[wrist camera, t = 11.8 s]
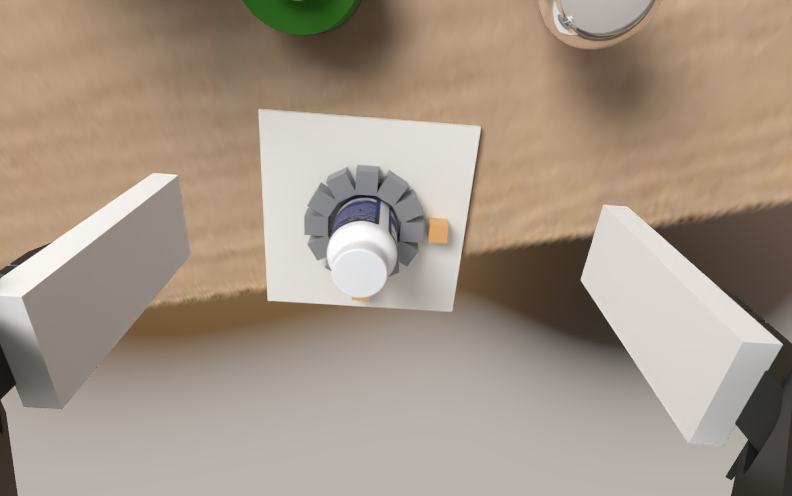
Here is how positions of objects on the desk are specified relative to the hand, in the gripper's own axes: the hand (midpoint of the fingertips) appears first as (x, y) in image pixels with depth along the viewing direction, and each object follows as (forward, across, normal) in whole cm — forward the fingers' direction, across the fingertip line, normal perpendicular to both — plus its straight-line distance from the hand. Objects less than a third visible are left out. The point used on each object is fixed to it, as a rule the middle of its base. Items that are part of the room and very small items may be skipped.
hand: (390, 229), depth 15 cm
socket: (+25, -2, -11) cm, 27 cm away
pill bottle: (+25, -2, -11) cm, 27 cm away
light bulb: (+26, +11, +8) cm, 29 cm away
